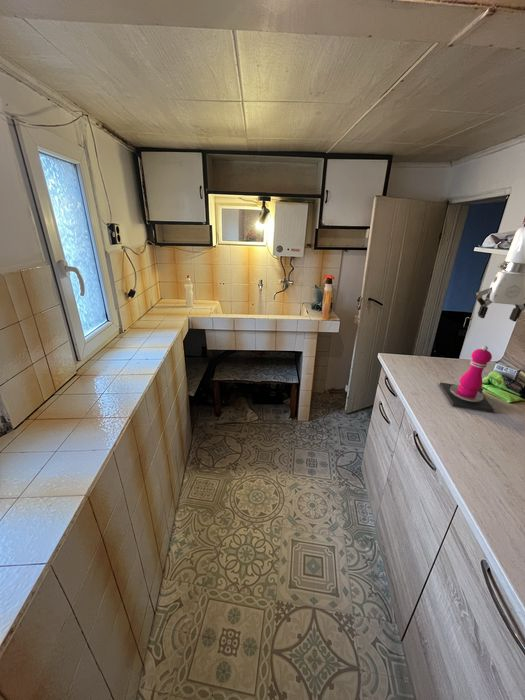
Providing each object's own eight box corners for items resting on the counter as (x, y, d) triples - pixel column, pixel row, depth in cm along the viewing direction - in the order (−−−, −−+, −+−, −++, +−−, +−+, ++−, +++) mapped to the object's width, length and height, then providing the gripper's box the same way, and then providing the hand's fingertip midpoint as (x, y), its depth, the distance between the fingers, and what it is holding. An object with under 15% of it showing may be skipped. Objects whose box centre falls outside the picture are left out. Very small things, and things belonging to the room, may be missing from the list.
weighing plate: (475, 388, 115) (476, 387, 115) (488, 404, 105) (488, 402, 105) (446, 384, 117) (446, 383, 117) (455, 399, 108) (456, 397, 107)
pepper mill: (455, 393, 110) (473, 346, 102) (456, 385, 115) (473, 340, 107) (478, 399, 106) (498, 352, 98) (477, 391, 112) (497, 345, 103)
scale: (476, 390, 120) (479, 384, 118) (494, 413, 105) (498, 406, 104) (439, 385, 123) (441, 379, 121) (452, 406, 108) (454, 399, 107)
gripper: (492, 268, 89) (473, 319, 97) (556, 272, 86) (531, 325, 93) (481, 265, 96) (464, 313, 103) (540, 268, 92) (519, 318, 100)
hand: (496, 318), depth 98 cm, fingers open, 9 cm apart
